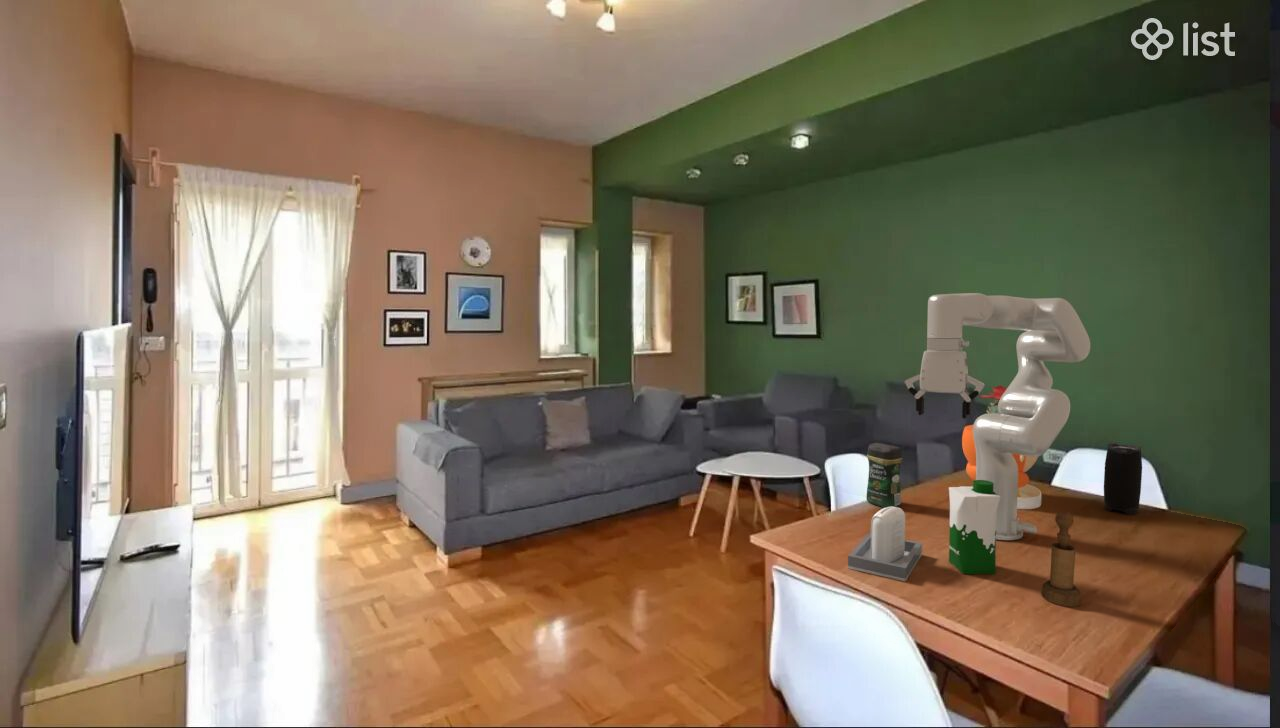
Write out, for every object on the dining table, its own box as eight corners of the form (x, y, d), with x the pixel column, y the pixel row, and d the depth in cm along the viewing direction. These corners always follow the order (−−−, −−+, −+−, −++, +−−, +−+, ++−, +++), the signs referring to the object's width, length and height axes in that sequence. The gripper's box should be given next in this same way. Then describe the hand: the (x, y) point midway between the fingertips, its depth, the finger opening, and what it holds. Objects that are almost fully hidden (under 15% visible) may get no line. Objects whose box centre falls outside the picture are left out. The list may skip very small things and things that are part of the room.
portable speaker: (1139, 509, 176) (1143, 444, 174) (1139, 517, 169) (1143, 450, 167) (1103, 503, 181) (1106, 441, 180) (1101, 511, 174) (1105, 446, 173)
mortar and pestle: (1082, 610, 118) (1086, 520, 117) (1042, 602, 122) (1045, 515, 120) (1079, 596, 124) (1082, 510, 122) (1041, 589, 127) (1044, 505, 126)
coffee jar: (861, 502, 187) (862, 443, 185) (878, 497, 191) (879, 439, 189) (888, 510, 179) (889, 448, 177) (905, 505, 183) (906, 445, 181)
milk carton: (1002, 575, 134) (1005, 487, 132) (960, 576, 134) (963, 488, 133) (981, 559, 143) (983, 476, 141) (942, 560, 143) (944, 477, 141)
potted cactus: (1024, 489, 197) (1027, 382, 194) (1054, 511, 175) (1058, 391, 172) (952, 486, 202) (954, 382, 199) (972, 507, 180) (975, 391, 177)
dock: (921, 554, 146) (922, 542, 146) (905, 581, 132) (905, 568, 132) (868, 544, 153) (869, 532, 153) (847, 568, 139) (848, 555, 139)
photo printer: (890, 550, 147) (890, 501, 146) (907, 556, 144) (908, 505, 143) (867, 562, 141) (868, 510, 140) (884, 568, 138) (885, 515, 137)
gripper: (987, 345, 143) (985, 416, 145) (909, 344, 153) (908, 411, 155) (983, 347, 137) (981, 421, 139) (902, 346, 147) (901, 415, 149)
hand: (942, 416), depth 147 cm, fingers open, 9 cm apart
